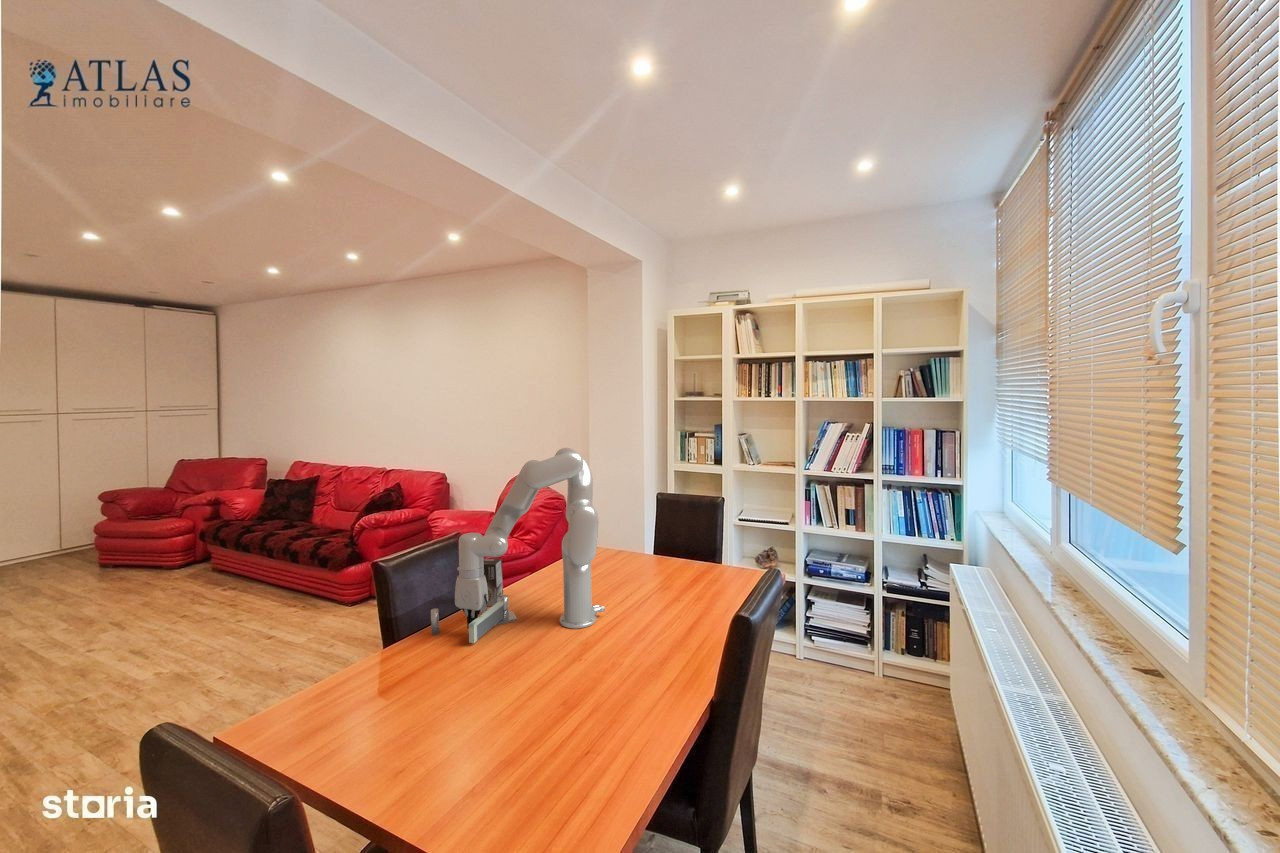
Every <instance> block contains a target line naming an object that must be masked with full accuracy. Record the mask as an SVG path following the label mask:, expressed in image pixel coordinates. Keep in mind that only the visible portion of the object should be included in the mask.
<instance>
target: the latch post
mask: <svg viewBox="0 0 1280 853" xmlns="http://www.w3.org/2000/svg"><path fill="white" fill-rule="evenodd" d="M439 614H440V612H439V608H438V607H437V608H436V607H435V608H432V609H431V610H430V628H431V631H430V632H431V636H437V635H440V616H439Z"/></svg>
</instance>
